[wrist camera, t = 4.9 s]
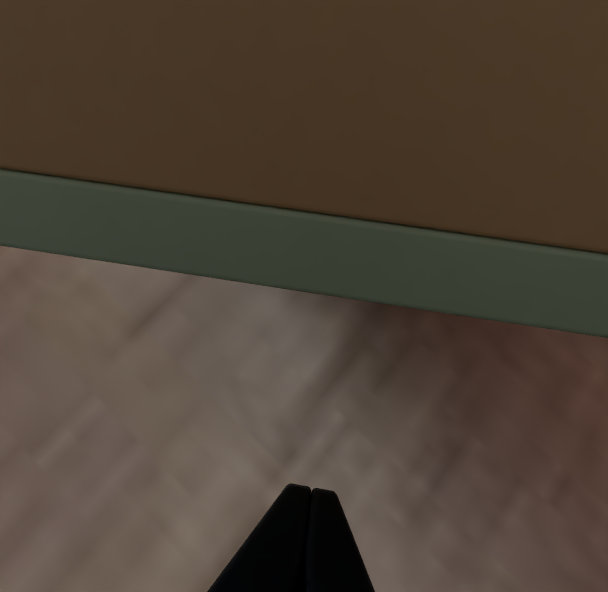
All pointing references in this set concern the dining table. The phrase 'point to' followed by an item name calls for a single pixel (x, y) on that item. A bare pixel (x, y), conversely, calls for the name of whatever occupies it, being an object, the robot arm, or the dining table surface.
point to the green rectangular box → (320, 147)
